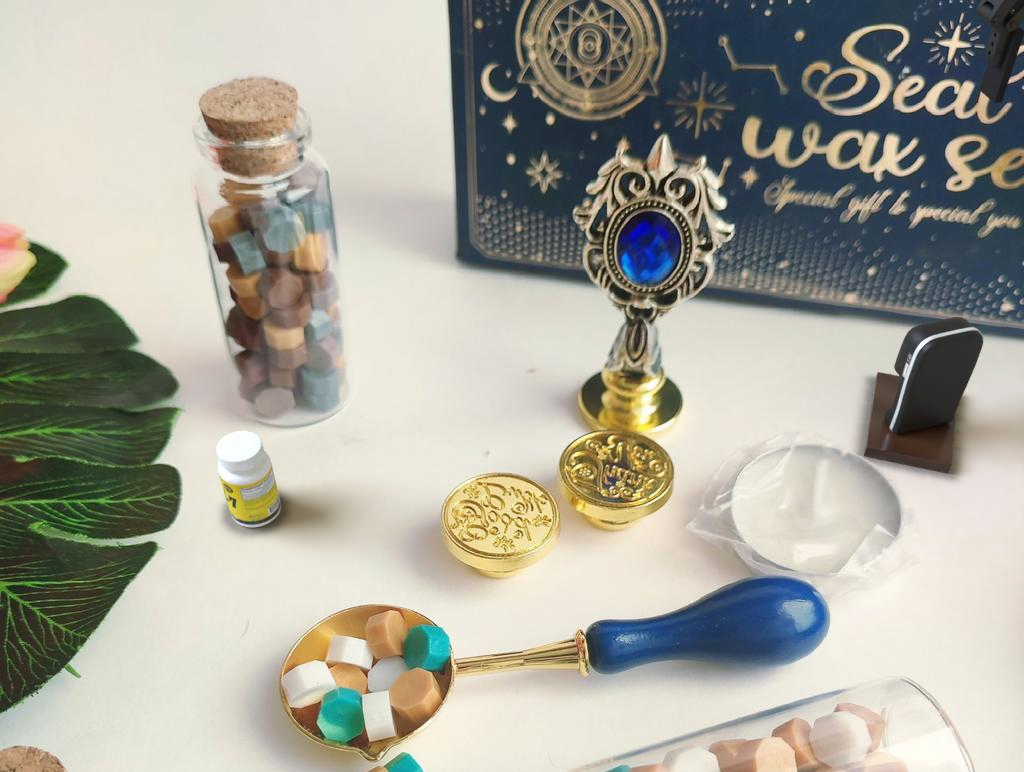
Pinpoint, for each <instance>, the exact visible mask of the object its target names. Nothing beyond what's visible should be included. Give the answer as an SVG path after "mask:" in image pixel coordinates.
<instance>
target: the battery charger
mask: <svg viewBox="0 0 1024 772" xmlns="http://www.w3.org/2000/svg"><path fill="white" fill-rule="evenodd" d="M983 346H984V337H983V335H982V332H981V331H980V330H979V329H978V328H977V327H974V325H972V324H971V322H969V321H968V320H967V319H966V318H964V317H961V316H953V317H949V318H943V319H937V320H933V321H929V322H924V323H921V324H918V325H914V326H913V327H911V329H909V330H908V332H907V333H906V334H905V336H904V338H903V340H902V343H901V345H900V348H899V350H898V353H897V356H896V358H895V362H894V366H893V369H894V371H895V372H896V373H897V376H900V377H899V386H898V390H897V394H896V397H895V401H894V404H893V406H892V407H891V409H890V410H887V411H886V413H885V417H884V418H885V421H886V423H887V425H888V426H889V427H890V430H891V431H892V432H894V433H895V434H902V433H908V432H912V431H917V430H921V429H925V428H929V427H933V426H937V425H941V424H944V423H948V422H951V421H953V419H954V416H955V417H956V413H957V410H958V407H959V406H960V402H961V400H962V397H963V396H964V393H965V391H966V389H967V386H968V384H969V383H970V380H971V378H972V375H973V373H974V371H975V368H976V365H977V362H978V360H979V357H980V356H981V352H982V350H983V349H982V348H983Z"/></svg>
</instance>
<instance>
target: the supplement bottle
mask: <svg viewBox="0 0 1024 772" xmlns="http://www.w3.org/2000/svg"><path fill="white" fill-rule="evenodd" d="M216 455H217V460H218V463H217V472H218V476H219V480H220V483H221V486H222V490H223V493H224V496H225V500H226V503H227V507H228V510H229V513H230V516H231V519H233V521H234V522H235V523H237V524H238V525H240V526H242V527H244V528H245V527H246V528H259V527H263V526H266V525H268V524H270V523H272V522H273V521H274V520H275V519H276V518H277V517H278V516H279V515H280V512H281V510H282V502H281V497H280V493H279V489H278V484H277V480H276V476H275V472H274V467H273V464H272V463H273V462H272V461H271V457H270V455H269V454H268V453H267V451H266V450H265V448H264V444H263V441H262V439H261V437H260V436H259V435H258V434H257V433H254V432H251V431H249V430H238V431H233V432H230V433H228V434H226V435H224V436H223V437H221V439H220V440H219V441H218V443H217V445H216Z"/></svg>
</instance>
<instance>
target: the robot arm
mask: <svg viewBox="0 0 1024 772" xmlns="http://www.w3.org/2000/svg"><path fill="white" fill-rule="evenodd" d="M975 12H976V15H977V16H979V17H980V18H981V19H982V20H983V21H985V22H986V23H988V24H989V25H990V26H992V27H991V31H990V33H989V36H988V40H987V44H986V47H985V51H984V54H983V55H984V60H985V61H987V63H986V68H985V71H984V74H983V77H982V80H981V82H980V83H981V84H980V86H979V92H981V93H982V94H983V95H984V96H985V97H986V98H988V99H989V100H990V101H991V102H992V103H993V104H999V103H1003V100H1004V97H1005V95H1006V91H1007V88H1008V85H1009V82H1010V79H1011V75H1012V72H1013V70H1014V67H1015V63H1016V61H1017V57H1018V55H1019V52H1020V48H1021V45H1022V42H1023V39H1024V29H1023V28H1021V27H1020V26H1021V25H1022V23H1023V22H1024V0H981V1H980V2H979V3H978V5H977V7H976V10H975Z"/></svg>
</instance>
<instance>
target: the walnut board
mask: <svg viewBox="0 0 1024 772" xmlns="http://www.w3.org/2000/svg"><path fill="white" fill-rule="evenodd" d="M899 377H900V376H899V375H895V374H890V373H885V372H881V371H880V372H879V371H877V373H876V376H875V379H874V383H873V384H874V385H873V390H872V391H873V392H872V396H871V397H872V398H871V404H870V412H869V417H868V424H867V429H866V431H867V432H866V436H865V444H864V451H863V457H867V458H872V459H877V460H882V461H887V462H891V463H896V464H901V465H906V466H910V467H914V468H920V469H925V470H928V471H934V472H939V473H944V474H949V473H950V470H951V468H952V465H953V456H954V455H953V453H954V440H955V439H954V438H955V425H956V423H955V422H956V415H955V416H954V419H953V421H951V422H948V423H944V424H941V425H937V426H933V427H929V428H925V429H921V430H917V431H912V432H908V433H902V434H895V433H894V432H892V431H891V430H890V427H889V426H888V425H887V423H886V421H885V418H884V417H885V413H886V411H887V410H890V409H891V407H892V406H893V404H894V401H895V397H896V394H897V390H898V386H899Z"/></svg>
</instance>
